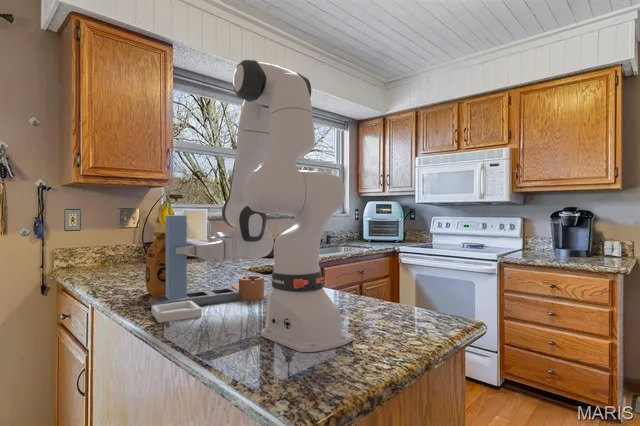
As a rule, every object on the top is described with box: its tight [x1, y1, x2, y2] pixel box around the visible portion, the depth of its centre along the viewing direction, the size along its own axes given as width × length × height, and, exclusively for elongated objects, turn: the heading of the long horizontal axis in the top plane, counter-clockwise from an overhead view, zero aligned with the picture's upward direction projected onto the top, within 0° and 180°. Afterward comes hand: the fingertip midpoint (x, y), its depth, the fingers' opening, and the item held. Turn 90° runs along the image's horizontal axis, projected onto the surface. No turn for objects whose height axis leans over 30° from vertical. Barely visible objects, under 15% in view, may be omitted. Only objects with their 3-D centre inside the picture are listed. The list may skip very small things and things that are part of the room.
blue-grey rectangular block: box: [165, 214, 188, 300], centre depth 102 cm, size 5×5×23 cm
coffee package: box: [144, 230, 166, 297], centre depth 127 cm, size 10×12×22 cm
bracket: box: [231, 275, 265, 302], centre depth 127 cm, size 18×8×7 cm, turn 27°
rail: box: [149, 287, 242, 309], centre depth 116 cm, size 9×26×2 cm, turn 124°
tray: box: [151, 301, 203, 324], centre depth 102 cm, size 11×11×2 cm
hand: (172, 249), depth 101 cm, fingers closed on blue-grey rectangular block, 5 cm apart
